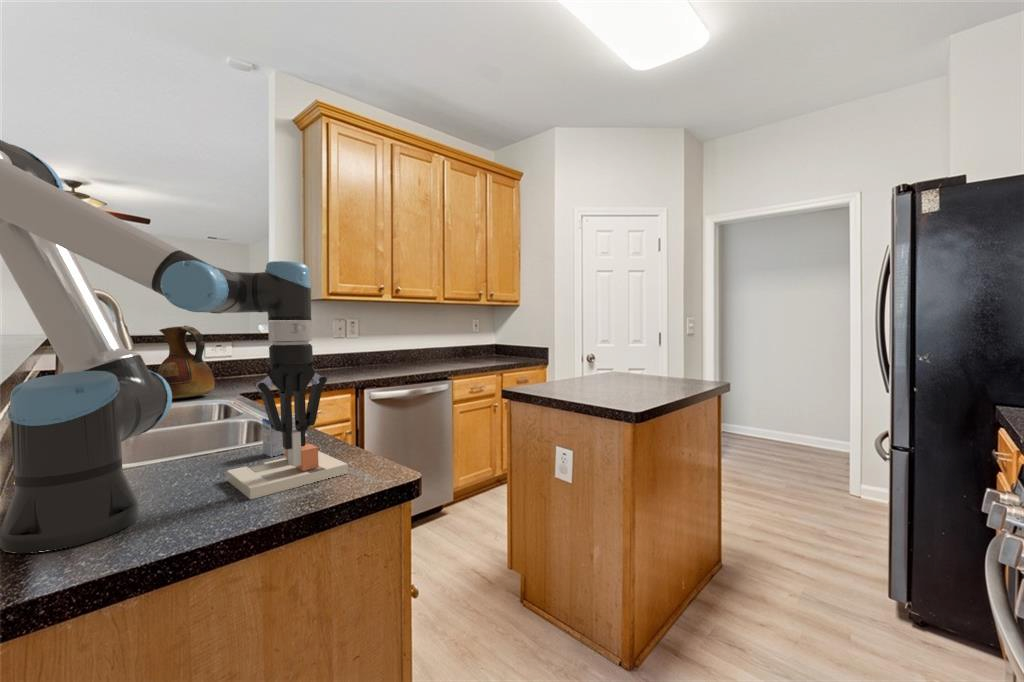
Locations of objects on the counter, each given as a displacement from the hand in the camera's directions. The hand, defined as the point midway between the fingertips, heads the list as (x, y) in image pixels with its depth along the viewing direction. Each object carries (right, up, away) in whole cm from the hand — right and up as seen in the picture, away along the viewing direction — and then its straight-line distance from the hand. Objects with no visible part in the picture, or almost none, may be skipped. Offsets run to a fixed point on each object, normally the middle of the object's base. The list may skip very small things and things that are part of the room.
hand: (294, 464), depth 89 cm
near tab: (+2, -1, +2) cm, 3 cm away
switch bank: (-2, -3, +3) cm, 5 cm away
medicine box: (-12, -3, +20) cm, 24 cm away
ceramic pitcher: (-92, 0, +99) cm, 135 cm away
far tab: (-3, -1, +7) cm, 8 cm away
